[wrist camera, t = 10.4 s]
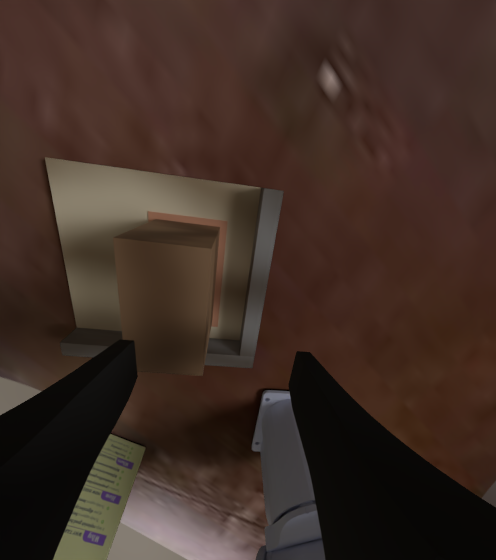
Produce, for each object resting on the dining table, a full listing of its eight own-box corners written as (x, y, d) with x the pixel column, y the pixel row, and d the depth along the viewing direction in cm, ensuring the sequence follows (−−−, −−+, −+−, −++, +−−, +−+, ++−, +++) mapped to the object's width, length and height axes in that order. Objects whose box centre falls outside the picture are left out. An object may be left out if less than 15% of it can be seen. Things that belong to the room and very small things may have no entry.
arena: (250, 347, 22) (252, 368, 19) (83, 335, 20) (62, 355, 18) (276, 189, 16) (283, 191, 14) (52, 158, 15) (16, 153, 12)
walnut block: (220, 227, 16) (211, 248, 11) (212, 321, 19) (202, 375, 14) (155, 218, 16) (112, 237, 10) (158, 316, 19) (125, 370, 13)
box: (37, 439, 25) (-115, 632, 14) (56, 409, 24) (-97, 602, 13) (124, 470, 28) (53, 651, 17) (147, 445, 26) (85, 627, 16)
